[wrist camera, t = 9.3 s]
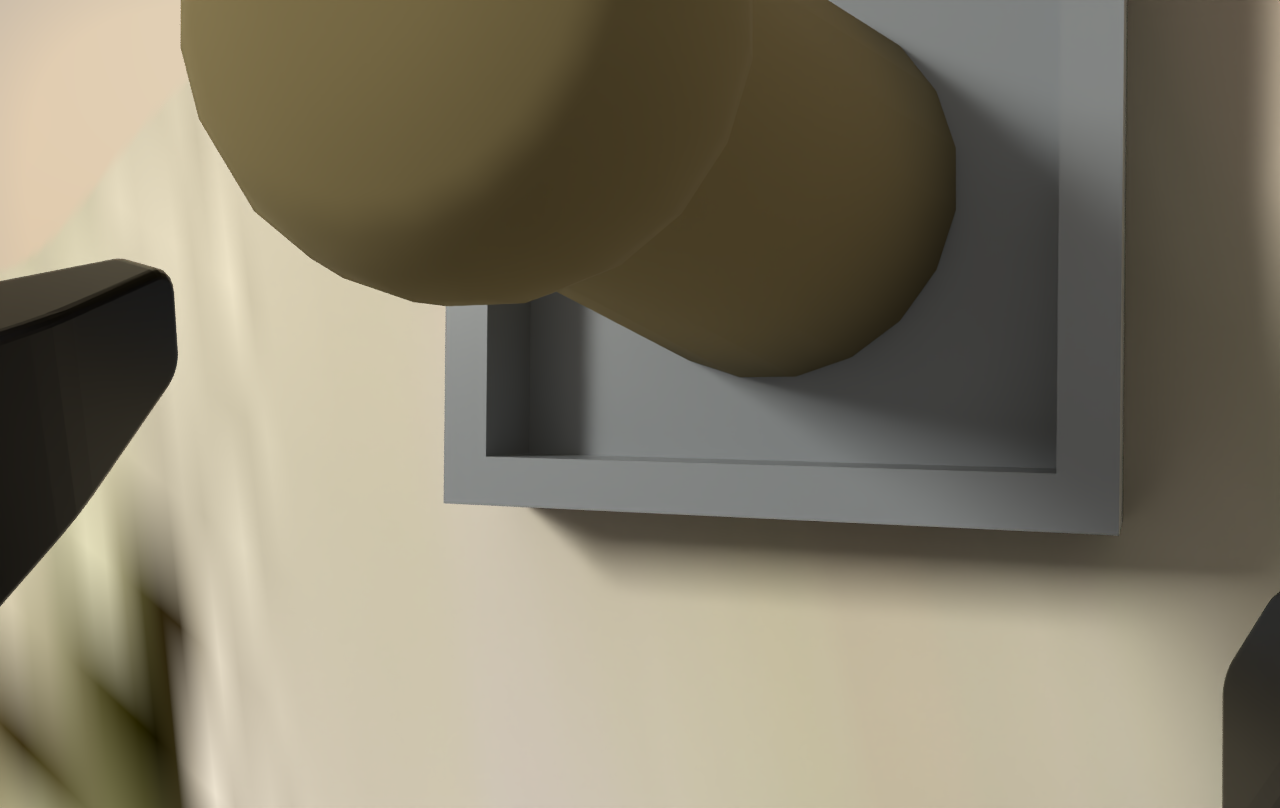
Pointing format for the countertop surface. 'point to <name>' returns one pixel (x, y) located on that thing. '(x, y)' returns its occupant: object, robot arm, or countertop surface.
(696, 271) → the cork
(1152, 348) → the countertop surface
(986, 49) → the grey tray
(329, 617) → the countertop surface
